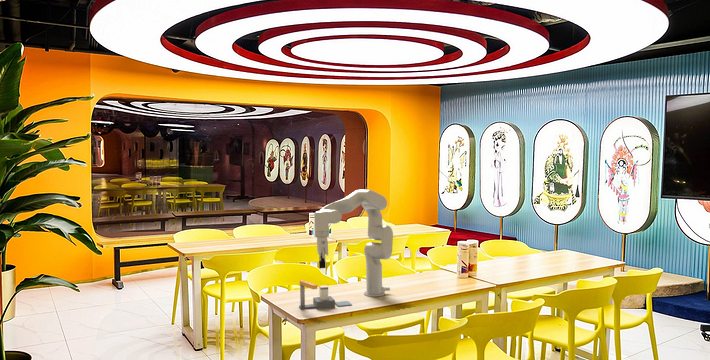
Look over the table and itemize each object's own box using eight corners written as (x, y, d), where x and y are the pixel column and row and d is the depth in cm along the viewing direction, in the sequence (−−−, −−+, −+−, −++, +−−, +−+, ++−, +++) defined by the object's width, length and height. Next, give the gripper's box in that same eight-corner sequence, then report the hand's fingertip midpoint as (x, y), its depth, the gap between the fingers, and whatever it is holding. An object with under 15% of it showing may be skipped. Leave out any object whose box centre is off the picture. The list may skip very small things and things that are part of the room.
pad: (348, 301, 287) (348, 300, 287) (352, 305, 280) (352, 304, 280) (334, 303, 285) (334, 302, 285) (338, 306, 278) (338, 305, 278)
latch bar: (317, 288, 265) (317, 284, 265) (312, 289, 263) (312, 285, 263) (303, 283, 278) (303, 280, 278) (298, 284, 276) (298, 280, 276)
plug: (326, 304, 282) (326, 285, 282) (328, 306, 278) (328, 286, 278) (319, 305, 281) (319, 285, 281) (321, 307, 277) (320, 287, 277)
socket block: (330, 303, 286) (330, 280, 285) (335, 307, 276) (334, 284, 276) (298, 306, 280) (298, 283, 280) (301, 310, 271) (301, 287, 271)
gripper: (330, 235, 264) (331, 270, 264) (326, 232, 278) (327, 265, 279) (316, 236, 262) (317, 271, 262) (313, 232, 277) (313, 265, 277)
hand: (322, 267), depth 271 cm, fingers closed
